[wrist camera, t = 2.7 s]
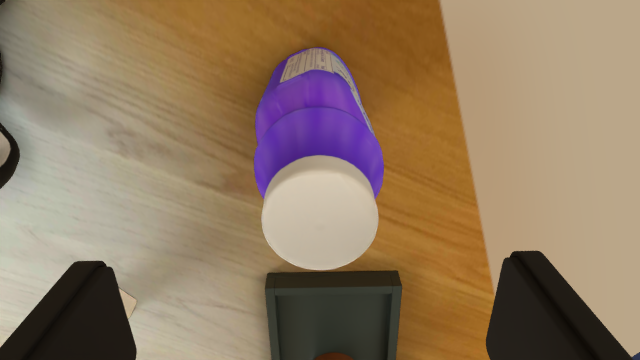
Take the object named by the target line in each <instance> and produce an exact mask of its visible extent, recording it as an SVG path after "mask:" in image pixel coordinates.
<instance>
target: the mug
mask: <svg viewBox="0 0 640 360" xmlns="http://www.w3.org/2000/svg"><path fill="white" fill-rule="evenodd" d="M4 2H5V0H0V5H1V4H2V3H4ZM1 77H2V61H1V53H0V82H1ZM19 158H20V151H19V147H18V144H17V143H16V141H15V139H14V138H13V137H12V135H11V134H10V133H9V132H8V131H7V130H6V128H5V127H4V126H3V125H2V124H1V123H0V189H1V188H2V187H3V186H4V185H5V184H6V183H7V182H8V181H9V180H10V178H11V177H12V176H13V174H14V172H15V170H16V167H17V164H18V162H19Z"/></svg>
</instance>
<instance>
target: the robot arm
mask: <svg viewBox="0 0 640 360" xmlns="http://www.w3.org/2000/svg"><path fill="white" fill-rule="evenodd" d="M486 348H487V352H488V355H489V357H490V359H491V360H633V359H632V357H631V356H630V355H629V354H628V353H627V352H626V350H625V349H624V348H623V347H622V346H621V345H620V343H619V342H618V341H617V340H616V339H615V338H614V337H613V335H612V334H611V333H610V332H609V331H608V329H607V328H606V327H605V326H604V325H603V324H602V322H601V321H600V320H599V319H598V318H597V317H596V315H595V314H594V313H593V312H592V311H591V309H590V308H589V307H588V306H587V305H586V304H585V302H584V301H583V300H582V299H581V298H580V297H579V295H578V294H577V293H576V292H575V291H574V290H573V288H572V287H571V286H570V285H569V284H568V283H567V281H566V280H565V279H564V278H563V277H562V276H561V274H560V273H559V272H558V271H557V270H556V269H555V267H554V266H553V265H552V264H551V263H550V262H549V260H548V259H547V258H546V257H545V256H544V254H542V253H541V252H540V251H514V252H512V254H511V255H510V258H505V259H504V261H503V264H502V269H501V273H500V278H499V282H498V287H497V292H496V296H495V300H494V305H493V310H492V314H491V319H490V323H489V328H488V332H487V337H486ZM136 353H137V352H136V345H135V342H134V338H133V335H132V332H131V328H130V325H129V321H128V318H127V315H126V311H125V308H124V304H123V301H122V298H121V294H120V291H119V287H118V284H117V281H116V277H115V274H114V271H113V269H112V268H111V267H107V266H106V264H105V263H104V262H103V261H77V262H74V263H73V264H72V265H71V266H70V267H69V268H68V270H67V271H66V272H65V273H64V274H63V275H62V277H61V278H60V279H59V280H58V281H57V282H56V284H55V285H54V286H53V287H52V288H51V289H50V290H49V292H48V293H47V294H46V295H45V296H44V297H43V299H42V300H41V301H40V302H39V303H38V304H37V306H36V307H35V308H34V309H33V310H32V311H31V313H30V314H29V315H28V316H27V317H26V318H25V319H24V321H23V322H22V323H21V324H20V325H19V326H18V328H17V329H16V330H15V331H14V332H13V333H12V335H11V336H10V337H9V338H8V339H7V340H6V342H5V343H4V344H3V345H2V346H1V347H0V360H136Z"/></svg>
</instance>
